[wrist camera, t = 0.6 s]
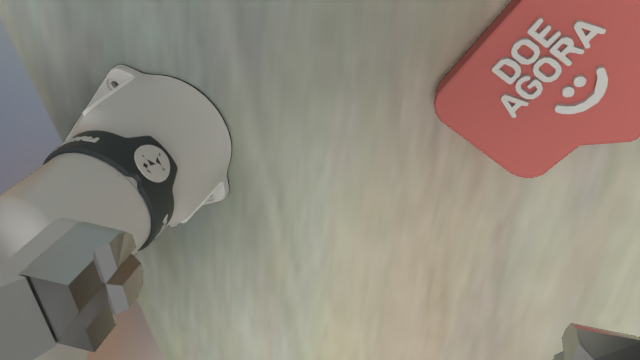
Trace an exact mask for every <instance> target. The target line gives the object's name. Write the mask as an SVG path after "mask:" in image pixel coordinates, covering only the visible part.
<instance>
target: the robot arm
mask: <svg viewBox="0 0 640 360" xmlns="http://www.w3.org/2000/svg"><path fill="white" fill-rule="evenodd" d="M115 82H117V84H118V85H117V84H116V83H115ZM230 159H231V141H230V136H229V132H228V130H227V127H226V125H225V123H224V121H223V119H222V117H221V115H220V114H219V112H218V111H217V109H216V108H215V107H214V106H213V104H212V103H211V102H210V101H209V100H208V99H207V98H206V97H205V96H204V95H203V94H201V93H200V92H199V91H198V90H196V89H195V88H193V87H192V86H190V85H188V84H186V83H184V82H182V81H180V80H178V79H175V78H172V77H168V76H162V75H149V74H143V73H141V72H139V71H136V70H134V69H132V68H130V67H128V66H125V65H116V66H115V67H114V68H112V69H111V70H110V71H109V73H108V74H107V76H106V78H105V79H104V81H103V82H102V84H101V85H100V87H99V88H98V90H97V91H96V93H95V95H94V96H93V98H92V99H91V101H90V102H89V104H88V105H87V107H86V108H85V110H84V111H83V113H82V115H81V116H80V118H79V119H78V121H77V122H76V124H75V125H74V127H73V128H72V130H71V132H70V133H69V135H68V136H67V138H66V140H65V142H63V143H62V144H61V145H59V147H57V148H56V149H55V150H54V151H53V152H52V153H51V154H50V155H49V156H48V157H47V158H46V160H45V161H44V163H43V166H41V167H40V168H38V169H37V170H36V171H34V172H33V173H31V174H30V175H29V176H27V177H26V178H24V179H23V180H22V181H20V182H19V183H18V184H16V185H15V186H13V187H12V188H10V189H9V190H8V191H6V192H5V193H3V194H2V195H1V196H0V360H87V351H91V352H95V351H96V350H97V349H98V348H99V346H100V345H101V343H102V342H103V341H104V340H105V339H106V337H107V336H108V335H109V334H110V332H111V331H112V330H113V328H114V327H115V326H116V315H117V314H119V313H121V312H123V311H125V310H127V309H129V308H130V307H131V305H132V304H133V303H134V301H135V300H136V299H137V297H138V295H139V292H140V289H141V287H142V284H143V270H142V266H141V263H140V262H139V261H138V260H137V258H136V257H135V256H134V255H135V254H136V252H137V251H140V250H142V249H144V248H145V247H147V246H148V245H149V244H150V243H151V242H152V241H153V240H155V239H156V238H157V237H158V236H159V235H160V234H161V232H162V231H163V230H164V228H165V227H166V226H170V227H171V228H172V227H175V226H177V225H178V224H179V223H182V224H183V223H185V222H187V221H188V220H189V219H190V218H191V217H192V216H193V215H194V214H195V212H196V211H197V210H198V209H199V208H200V207H201V206H203V205H206V204H210V203H214V202H218V201H221V200H223V199H224V198H225V197H226V196H227V195H228V193H229V184H228V179H227V170H228V166H229V163H230ZM562 343H563V351H562V352H560V353H558V354H556V355H554V358H553V360H640V337H637V336H634V335H629V334H624V333H619V332H613V331H608V330H603V329H598V328H593V327H588V326H583V325H578V324H573V323H571V324H570V325H569V326H568V327H567V328H566V330H565V332H564V334H563V336H562Z"/></svg>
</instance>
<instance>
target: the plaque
mask: <svg viewBox="0 0 640 360" xmlns="http://www.w3.org/2000/svg"><path fill="white" fill-rule="evenodd" d="M434 107H435V113H436V114H437V116H438V117H439V119H440V120H441V121H442V122H443V123H444V124H446V125H447V126H448V127H450V128H451V129H452V130H454V131H455V132H456V133H458V134H459V135H460V136H462V137H463V138H464V139H466V140H467V141H468V142H470V143H471V144H472V145H474V146H475V147H477V148H478V149H479V150H481V151H482V152H483V153H485V154H486V155H487V156H489V157H490V158H491V159H493V160H494V161H495V162H497V163H498V164H499V165H501V166H502V167H503V168H505V169H506V170H507V171H509V172H510V173H512V174H514V175H516V176H519V177H524V178H533V177H537V176H540V175H543V174H544V173H545V172H547V171H548V170H549V169H550V168H552V167H553V166H554V165H555V164H557V163H558V162H559V161H560V160H562V159H563V158H564V157H565V156H567V155H568V154H569V153H570V152H572V151H573V150H574V149H575V148H577V147H578V146H579V145H592V144H605V143H618V142H630V141H633V140H636V139H637V138H639V137H640V0H512V1H511V3H510V4H509V5H508V6H507V7H506V8H505V9H504V11H503V12H502V13H501V14H500V15H499V16H498V17H497V18H496V20H495V21H494V22H493V23H492V24H491V25H490V26H489V27H488V29H487V30H486V31H485V32H484V33H483V34H482V35H481V37H480V38H479V39H478V40H477V41H476V42H475V43H474V44H473V46H472V47H471V48H470V49H469V50H468V51H467V52H466V54H465V55H464V56H463V57H462V58H461V59H460V60H459V61H458V63H457V64H456V65H455V66H454V67H453V68H452V69H451V70H450V72H449V73H448V74H447V75H446V76H445V77H444V78H443V80H442V81H441V82H440V84H439V86H438V88H437V91H436V96H435V101H434Z"/></svg>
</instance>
